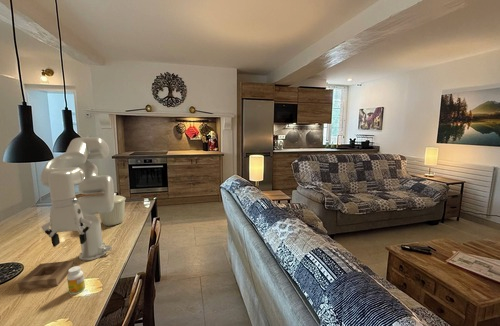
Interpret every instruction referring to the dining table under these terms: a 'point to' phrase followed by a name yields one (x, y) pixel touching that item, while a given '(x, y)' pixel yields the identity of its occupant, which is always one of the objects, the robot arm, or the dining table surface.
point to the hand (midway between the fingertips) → (70, 243)
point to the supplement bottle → (75, 280)
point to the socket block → (41, 280)
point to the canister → (114, 212)
